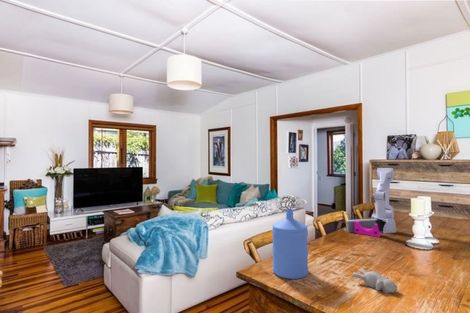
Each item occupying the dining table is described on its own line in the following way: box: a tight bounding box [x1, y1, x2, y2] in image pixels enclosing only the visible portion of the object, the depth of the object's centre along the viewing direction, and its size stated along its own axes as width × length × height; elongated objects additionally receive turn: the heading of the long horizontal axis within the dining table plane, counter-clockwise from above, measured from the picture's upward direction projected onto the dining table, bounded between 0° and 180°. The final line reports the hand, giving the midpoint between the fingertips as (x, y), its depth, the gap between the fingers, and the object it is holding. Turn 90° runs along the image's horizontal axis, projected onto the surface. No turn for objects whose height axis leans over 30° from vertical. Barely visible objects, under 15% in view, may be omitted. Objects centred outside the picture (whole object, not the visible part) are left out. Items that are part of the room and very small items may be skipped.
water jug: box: [271, 208, 309, 280], centre depth 120 cm, size 16×16×28 cm
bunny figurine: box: [352, 268, 398, 294], centre depth 107 cm, size 10×5×15 cm
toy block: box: [354, 221, 382, 238], centre depth 179 cm, size 15×6×8 cm, turn 50°
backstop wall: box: [343, 218, 377, 233], centre depth 188 cm, size 22×6×8 cm, turn 100°
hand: (380, 231), depth 171 cm, fingers closed
